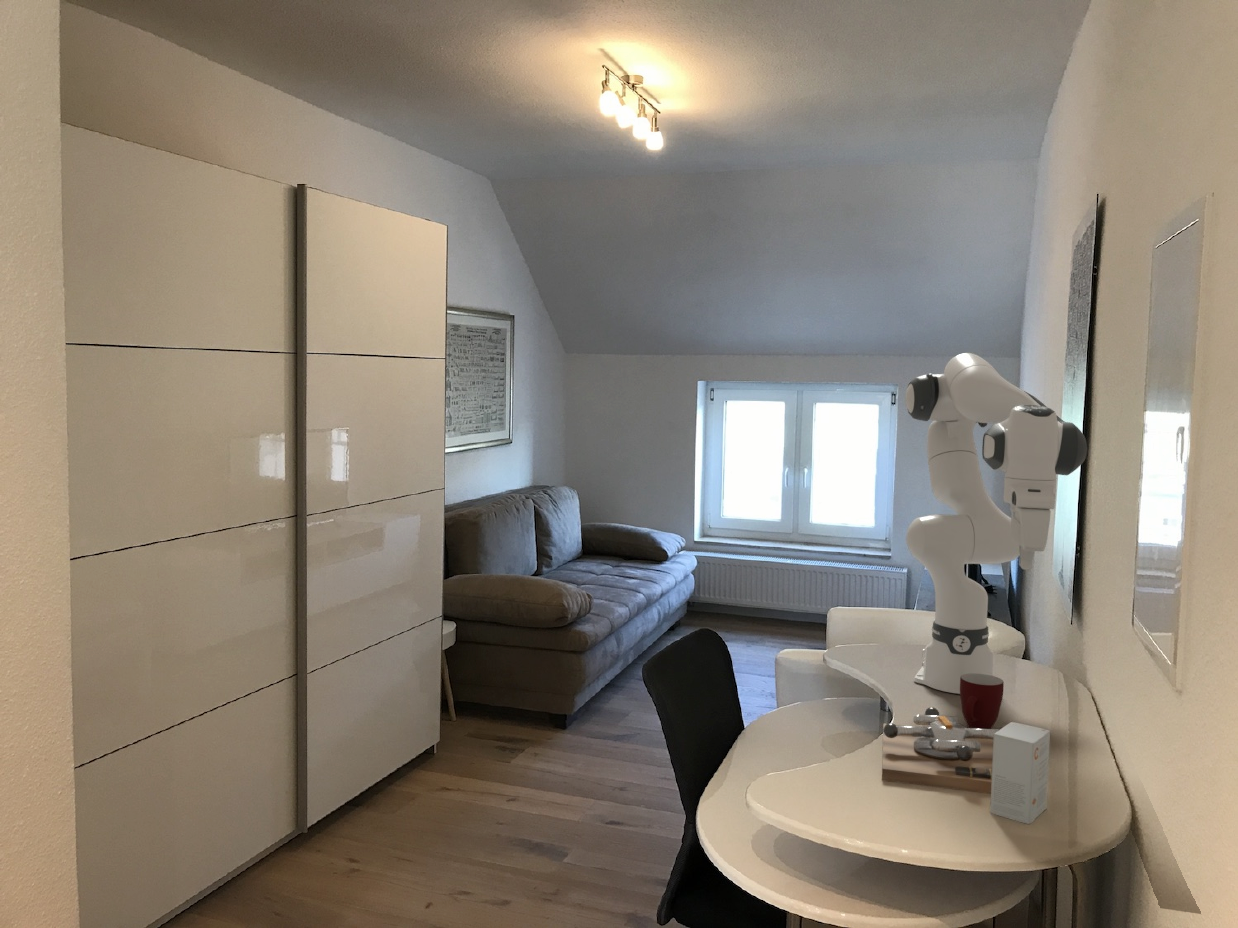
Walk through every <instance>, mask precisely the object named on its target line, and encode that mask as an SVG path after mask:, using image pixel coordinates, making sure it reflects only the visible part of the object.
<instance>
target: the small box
mask: <svg viewBox="0 0 1238 928" xmlns="http://www.w3.org/2000/svg"><path fill="white" fill-rule="evenodd" d="M1002 727H1003V728H1002V729H1000V730H999V731H997V732H996V733H994V740H993V762H992V784H991V793H990V806H989V807H990V808H989V812H990V814H993V815H996V816H999V817H1003V818H1006V819H1010V820H1013V821H1015V822H1019V823H1023V824H1027V825H1030V824H1032V823H1033V822H1034V821H1035V819H1037V818H1038V817H1040V815H1041V814H1042V813H1043V812H1044V811H1045V810H1047V800H1048V799H1047V798H1048V795H1047V794H1048V793H1047V792H1048V779H1049V778H1048V775H1049V760H1050V741H1051V731H1050V730H1049V729H1045V728H1041V727H1037V726H1033V725H1028V724H1024V723H1020V722H1019V723H1018V722H1015V721H1011V722H1009V723H1007V724H1006V725H1004V726H1002Z"/></svg>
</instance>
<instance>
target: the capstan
mask: <svg viewBox="0 0 1238 928" xmlns="http://www.w3.org/2000/svg"><path fill="white" fill-rule="evenodd" d="M912 721H913V723H914V724H915V725H916V726H915V725H912V726H911V725H910V726H909V725H903V726H896V725H897V724H896V723H895V724H894V723H892V722H889V723H885V724H886V725H885V727H884V734H885V735H886V736H887V737H888V738H895V737H896V736H908V737H924V738H919V739H917V740H915V741H914V750H915V751H916V752H918V753H920V754H922V755H924V756H927V757H931V758H935V759H942V760H956V759H960V760H962V761H969V760H970V759H971V758H972V756H973V752H980V750H981V745H980V742H979V741H965V739H992V740H994V733H996V732H997V731H999V730H1000V729H1002V728H1003V727H1004V726H1001V727H999V728H996V729H995V728H991V729H975V728H969V727H968V728H967V727H966V726H964V725H962V724H960V723H959V721H958V716H956V715H940V712H939V710H938V709H937V708H935V707H933V706H930V707H927V708H926V709H925V710H924V714H915V715H914V716H913V717H912ZM917 725H918V726H917Z"/></svg>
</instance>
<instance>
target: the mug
mask: <svg viewBox="0 0 1238 928" xmlns="http://www.w3.org/2000/svg"><path fill="white" fill-rule="evenodd" d="M1004 684H1005V683H1004V680H1003V679H1002V678H1000V677H998V676H995V675H994V676H991V675H986V674H975V673H971V674H964V675H962V676H961V677H960V694H959V695H960V703H961V710H962V715H963V718H964V721H965V722H966V724H967V727H968V728H975V729H993V727H994V725H995V723H997V722H996V721H997V720H998V718H999V713H1000V710H1001V706H1002V700H1003V696H1004V686H1005V685H1004Z"/></svg>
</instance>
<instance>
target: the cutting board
mask: <svg viewBox="0 0 1238 928" xmlns="http://www.w3.org/2000/svg"><path fill="white" fill-rule="evenodd" d="M882 724H883V728H882V756H881V757H882V761H881V762H882V765H881V780H882V781H885V782H887V781H888V782H893V783H894V782H895V783H903V784H911V785H919V786H920V785H921V786H927V787H928V786H929V787H937V788H945V789H953V790H959V791H960V790H961V791H968V792H977V793H984V794H985V793H986V794H991V784H992V762H993V740H992V739H965V741H979V742H980V745H981V750H980V752H973V756H972V758H971V759H970V760H969V761H962V760H960V759H956V760H942V759H935V758H931V757H927V756H924V755H922V754H920V753H918V752H916V751H915V750H914V741H915V740H917V739H919V738H924V737H908V736H896V737H895V738H888V737H887V736H886V735H885V734H884V727H885V725H886V724H887V723H882ZM895 725H896V726H904V725H902V724H895Z"/></svg>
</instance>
